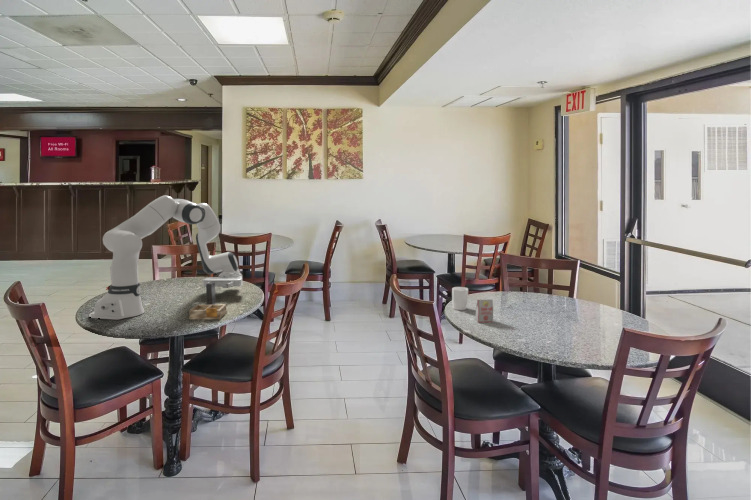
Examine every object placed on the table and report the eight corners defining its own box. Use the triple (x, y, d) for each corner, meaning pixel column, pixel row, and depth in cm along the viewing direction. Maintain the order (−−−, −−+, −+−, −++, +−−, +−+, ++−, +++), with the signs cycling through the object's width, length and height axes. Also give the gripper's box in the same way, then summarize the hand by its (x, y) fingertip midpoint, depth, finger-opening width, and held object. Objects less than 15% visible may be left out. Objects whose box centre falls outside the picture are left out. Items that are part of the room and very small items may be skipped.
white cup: (456, 311, 222) (457, 291, 221) (448, 307, 230) (449, 287, 228) (470, 309, 225) (471, 289, 224) (461, 305, 233) (462, 286, 231)
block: (207, 308, 224) (206, 284, 222) (210, 305, 229) (209, 282, 227) (212, 308, 224) (211, 284, 222) (215, 305, 229) (214, 282, 227)
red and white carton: (475, 320, 209) (476, 298, 207) (490, 319, 209) (491, 298, 208) (477, 322, 205) (478, 300, 204) (492, 322, 206) (493, 300, 204)
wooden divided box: (189, 319, 206) (188, 308, 206) (197, 311, 218) (197, 301, 217) (219, 319, 207) (219, 308, 206) (227, 311, 218) (226, 301, 218)
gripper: (206, 273, 250) (197, 279, 236) (244, 273, 251) (238, 279, 237) (207, 285, 251) (198, 291, 237) (245, 285, 252) (238, 291, 238)
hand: (218, 285), depth 237 cm, fingers open, 8 cm apart
